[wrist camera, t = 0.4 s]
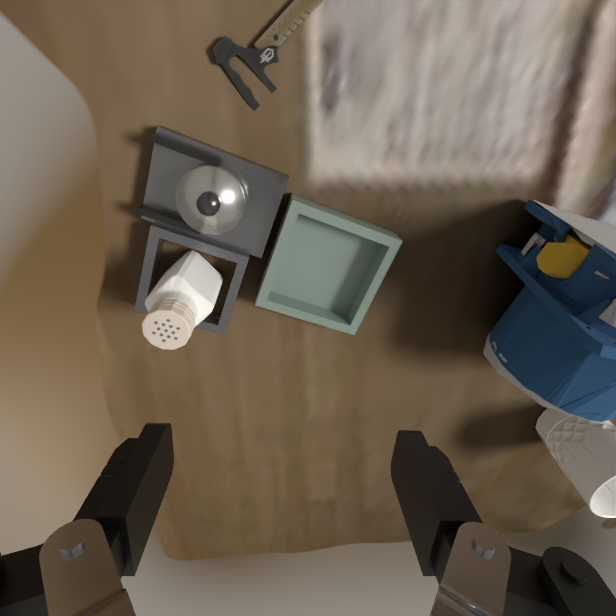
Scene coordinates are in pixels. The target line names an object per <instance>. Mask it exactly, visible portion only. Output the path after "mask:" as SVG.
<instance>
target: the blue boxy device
mask: <svg viewBox="0 0 616 616" xmlns="http://www.w3.org/2000/svg"><path fill="white" fill-rule="evenodd" d="M534 201H535V200H534ZM534 201H531V200H528V202H527V204H526V206H525V208H524V209H526V210H527V211H528V212H529V213H531V214H532V215H533V216H535V217H536V218H537V219H539V220H540V221H542V222H543V223H542V226H541V228H540V230H539V232H538V234H537V233H535V234H534V235H533V236H532V237H531V238H530V240H529V241H528V243H527V244H526V246H525V247H524V248H523V249H518V248H515V247H512V246H508V245H505V244H500V245H499V246H498V248H497V249H496V250H495V252H496V253H497V254H498V255H499V256H500V257H501V258H502V259H503V260H504V261H505V263H506V264H507V265H508V266H509V267H510V268H511V269H512V270H513V271H514V272H515V273H516V274H517V276H518V277H519V278H520V279H521V280H522V281H523V282H524V283H525V284H526V285H525V286H524V288H523V289H522V291H521V292H520V293H519V295H518V296H517V297H516V299H515V300H514V301H513V303H512V304H511V305H510V307H509V308H508V309H507V310H506V312H505V313H504V314H503V316H502V317H501V318H500V320H499V321H498V322H497V324H496V325H495V326H494V328H493V329H492V330H491V332H490V333H489V335H488V337H487V340H486V343H485V347H484V351H483V354H484V356H485V357H486V358H487V360H488V361H489V362H490V363H491V365H492V366H493V368H494V369H495V371H496V372H497V374H501V375H502V376H503V377H505V378H506V379H507V380H509V381H510V382H511V383H513V384H514V385H515V386H517V387H518V388H519V389H520V390H522V391H523V392H524V393H526V394H527V395H528V396H530V397H531V398H532V399H534V400H535V401H536V402H538V403H539V404H540V405H541V406H544V407H547V408H550V409H553V410H557V411H560V412H563V413H566V414H570V415H573V416H576V417H580V418H583V419H586V420H589V421H593V422H596V423H599V424H602V423H604V422H607V421H609V420H611V419H613V418H614V417H615V416H616V226H613V225H610V224H606V223H603V222H600V221H597V220H593V219H590V218H587V217H584V216H580V215H577V214H574V213H571V212H567V211H564V210H561V209H558V208H555V207H551V206H548V205H546V204H543V203H540V202H538V201H535V202H534Z"/></svg>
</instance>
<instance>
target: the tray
mask: <svg viewBox="0 0 616 616" xmlns="http://www.w3.org/2000/svg"><path fill="white" fill-rule="evenodd" d="M402 242H403V241H402V240H401V239H400V238H399V237H398V236H397V235H396V234H395V232H393V231H390V230H387V229H385V228H382V227H379V226H377V225H374V224H372V223H369V222H366V221H364V220H361V219H358V218H356V217H353V216H351V215H348V214H345V213H343V212H340V211H337V210H335V209H332V208H330V207H327V206H324V205H322V204H319V203H316V202H314V201H311V200H308V199H306V198H303V197H301V196H298V195H295V194H293V193H292V194H291V196H290V199H289V202H288V205H287V208H286V211H285V213H284V216H283V219H282V222H281V225H280V228H279V231H278V233H277V236H276V239H275V242H274V245H273V248H272V250H271V253H270V256H269V259H268V262H267V265H266V267H265V270H264V273H263V276H262V279H261V282H260V285H259V287H258V290H257V294H256V301H255V305H256V306H259V307H262V308H266V309H269V310H272V311H276V312H279V313H282V314H286V315H289V316H292V317H296V318H299V319H302V320H306V321H309V322H312V323H316V324H319V325H322V326H325V327H329V328H332V329H335V330H339V331H342V332H345V333H349V334H352V335H355V333H356V331H357V329H358V327H359V325H360V323H361V321H362V320H363V318H364V316H365V314H366V312H367V310H368V308H369V306H370V304H371V302H372V300H373V298H374V296H375V294H376V292H377V290H378V288H379V286H380V285H381V283H382V281H383V279H384V277H385V275H386V273H387V271H388V269H389V267H390V265H391V263H392V261H393V259H394V257H395V255H396V253H397V251H398V250H399V248H400V246H401V244H402Z"/></svg>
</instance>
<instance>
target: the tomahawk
mask: <svg viewBox="0 0 616 616" xmlns="http://www.w3.org/2000/svg"><path fill="white" fill-rule="evenodd" d="M322 1H323V0H293V2H292V3H291V4H290V5H289V6H288V7H287V8H286V9H285V10H284V11H283V13H282V14H281V15H280V16H279V17H278V18H277V19H276V20H275V21H274V22H273V23H272V25H271V26H270V27H269V28H268V29H267V30H266V31H265V32H264V33H263V34H262V36H261V37H260V38H259V39H258V40H257V41H256V42H255V43H254V45H253V46H252V47H250V48H243V47H241V46H238V45H236V44H233V42H232V40H231V39H229V38H227V37H225V36H224V37H223V38H222V39H221V40H220V41H219V42H218V43H217V44H216V46H215V47H214V48H213V49H212V51H213V55H214V58H215V62H216V64H220V65H222V67H223V68H224V70H225V72H226V73H227V75H228V76H229V78H230V80H231V81H232V83H233V84H234V86H235V87H236V89H237V90H238V92H239V93H240V95H241V96H242V98H243V99H244V100H245V102H246V103H247V104H248V105H249V106H250V107H251V108H252V109H253V110H254V111H255V110H256V109H257V108H258V107H259V106H260V104H259V103H258V102H257V101H256V100H255V99H254V97H253V94H252V92H251V90H250V89H249V88H248V87H247V86H246V85H245V84H244V83H243V81H242V79H241V78H240V76H239V74H237V73H236V72H235V71H234V70H232V69H231V68H230V66H229V60H230V59H231V58H232V57H233V56H235V55H239V56H240V57H241V58H243V59H244V60H245V61H246V63H247V64H248V65H249V66H250V67H251V68H252V69H253V71H254V72H255V73H256V74H257V75H258V76H259V78H260V79H261V80H262V81H263V82H264V84H265V85H266V86H267V87H268V89H269V90H270V92H271V93H273V92H274V91H275V90H276V89H277V88H276V87H275V86H274V85H273V84H272V82H271V81H270V80H269V79H268V78H267V76H266V74H265V73H264V68H265V66H267V65H268V64H271V63H274V62H278V61H279V59H278V57H277V48H278V46H279V45H280V44H281V43H282V42H283V41H284V40H285V39H286V37H288V36H289V35H290V34H291V31H294V30H295V29H296V28H297V25H300V24H301V23H302V20H304V19H305V18H306V17H307V16H308V14H310V13H311V12H312V11H313V10H314V9H315V8H316V7H317V6H318V5H319V4H320V3H321V2H322Z"/></svg>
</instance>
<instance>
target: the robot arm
mask: <svg viewBox="0 0 616 616" xmlns="http://www.w3.org/2000/svg"><path fill="white" fill-rule="evenodd" d="M173 464H174V453H173V440H172V428H171V424H170V423H147V424H146V425H145V426H144V428H143V430H142V432H141V434H140V436H139V438H128V439H127V440H126V441H124V442H123V443H122V444H121V445H120V446H119V447H117V448H116V449H115V451H114V452H113V454H112V456H111V457H110V459H109V461H108V463H107V465H106V466H105V468H104V469H103V471H102V472H101V476H99V478H98V479H97V481H96V483H95V485H94V486H93V488H92V489H91V491H90V493H89V494H88V496H87V498H86V499H85V501H84V503H83V505H82V506H81V508H80V510H79V511H78V513H77V515H76V517H75V518H74V520H73V521H72V522H70V523H67V524H65V525H64V526H62V527H60V528H59V529H57V530H56V531H55V532H54V533H53V534H52V535H50V536H49V537H48V539H47V540H46V541H45V543H43V544H41V545H38V546H35V547H32V548H28V549H25V550H21V551H17V552H14V553H10V554H7V555H3V556H1V553H0V616H136V615H135V612H134V610H133V606H132V604H131V601H130V598H129V595H128V593H127V591H126V589H124V588H123V586H122V583H121V577H122V576H135V573H136V571H137V568H138V565H139V562H140V560H141V557H142V554H143V552H144V549H145V546H146V543H147V541H148V538H149V535H150V532H151V530H152V527H153V524H154V522H155V519H156V516H157V513H158V511H159V508H160V505H161V502H162V500H163V497H164V494H165V491H166V489H167V486H168V483H169V481H170V478H171V475H172V470H173ZM391 477H392V481H393V485H394V488H395V491H396V494H397V497H398V500H399V503H400V506H401V509H402V512H403V515H404V518H405V521H406V524H407V527H408V531H409V534H410V537H411V540H412V543H413V546H414V549H415V552H416V555H417V558H418V561H419V564H420V567H421V570H422V573H423V576H436V578H437V580H438V583H439V589H438V592H437V595H436V598H435V601H434V604H433V607H432V611H431V614H430V616H616V598H615V597H614V595H613V594H612V592H611V591H610V590H609V588H608V587H607V585H606V584H605V583H604V581H603V580H602V578H601V577H600V575H599V574H598V572H597V571H596V570H595V569H594V568H593V567H592V566H591V565H590V564H589V563H588V562H587V561H586V560H585V559H583V558H582V557H581V556H579V555H577V554H576V553H574V552H572V551H570V550H567V549H565V548H561V547H550V548H548V549H546V551H545V552H544V554H543V556H542V557H540V556H536V555H533V554H530V553H527V552H523V551H520V550H517V549H514V548H512V547H510V546H508V545H507V543H506V542H505V540H504V539H503V538H502V537H501V536H500V535H499V534H498V533H497V532H496V531H495V530H493V529H492V528H490V527H488V526H486V525H484V524H483V523H482V521H481V519H480V517H479V515H478V513H477V512H476V510H475V508H474V506H473V504H472V502H471V500H470V498H469V497H468V495H467V493H466V491H465V489H464V487H463V485H462V484H461V483H460V480H459V478H458V476H457V474H456V473H455V472H454V469H453V467H452V465H451V463H450V461H449V459H448V457H447V456H446V455H444V454H443V453H442V452H441V451H440V450H439V449H438V448H437V447H436V446H428V444H427V442H426V440H425V438H424V435H423V434H422V432H421V431H408V430H399V431H398V433H397V438H396V442H395V447H394V452H393V456H392V461H391Z"/></svg>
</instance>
